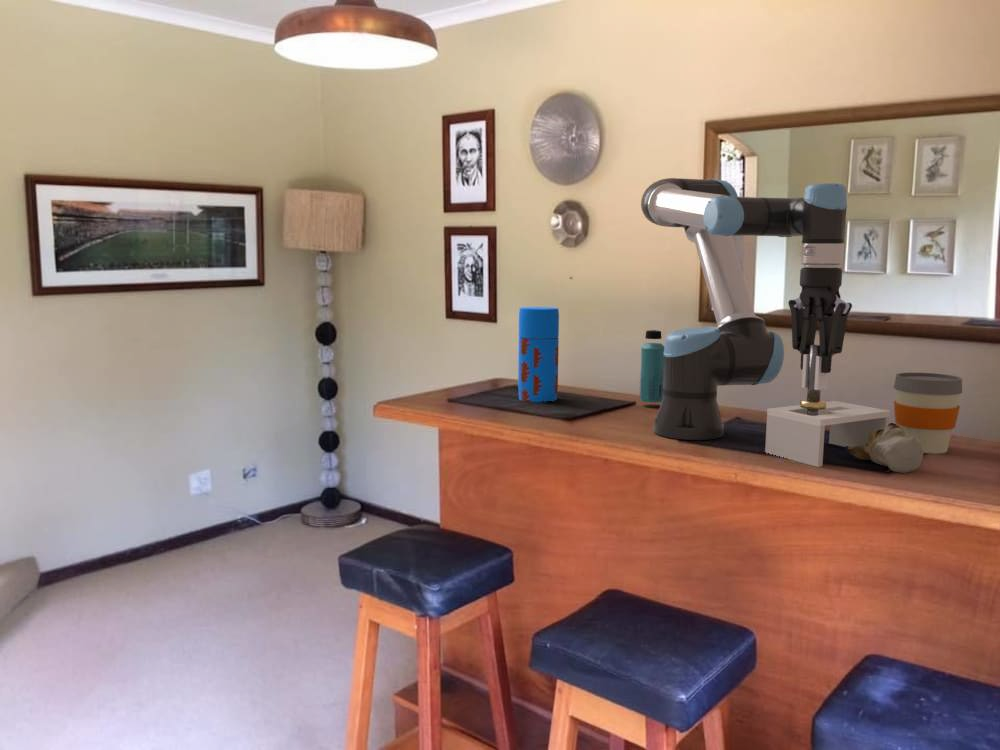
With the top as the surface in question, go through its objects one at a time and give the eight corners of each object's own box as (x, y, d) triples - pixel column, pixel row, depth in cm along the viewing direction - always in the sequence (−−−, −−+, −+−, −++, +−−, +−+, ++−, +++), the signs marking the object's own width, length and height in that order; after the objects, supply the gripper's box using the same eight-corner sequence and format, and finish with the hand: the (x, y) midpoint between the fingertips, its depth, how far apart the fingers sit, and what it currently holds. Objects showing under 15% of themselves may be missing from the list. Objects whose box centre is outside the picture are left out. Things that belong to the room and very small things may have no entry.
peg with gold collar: (793, 427, 165) (797, 344, 162) (810, 424, 167) (815, 343, 165) (812, 431, 160) (818, 346, 158) (830, 429, 163) (835, 345, 160)
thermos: (541, 394, 237) (542, 306, 233) (565, 400, 228) (567, 308, 225) (510, 398, 231) (511, 307, 227) (533, 403, 222) (534, 309, 218)
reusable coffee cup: (882, 440, 179) (887, 371, 177) (944, 443, 177) (950, 373, 175) (899, 454, 167) (904, 380, 165) (967, 457, 165) (973, 382, 163)
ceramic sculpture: (886, 428, 149) (843, 417, 163) (884, 476, 149) (841, 461, 164) (942, 428, 150) (894, 417, 165) (940, 475, 150) (892, 460, 165)
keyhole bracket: (817, 467, 156) (820, 419, 155) (765, 452, 167) (767, 408, 166) (887, 455, 166) (890, 410, 165) (832, 442, 177) (835, 400, 176)
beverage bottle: (660, 409, 215) (663, 331, 212) (635, 406, 218) (638, 330, 215) (667, 405, 221) (669, 329, 218) (642, 403, 224) (645, 328, 221)
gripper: (776, 266, 164) (770, 384, 167) (841, 267, 151) (833, 395, 154) (803, 266, 168) (796, 381, 171) (869, 267, 154) (861, 392, 158)
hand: (814, 387), depth 163 cm, fingers closed on peg with gold collar, 2 cm apart
